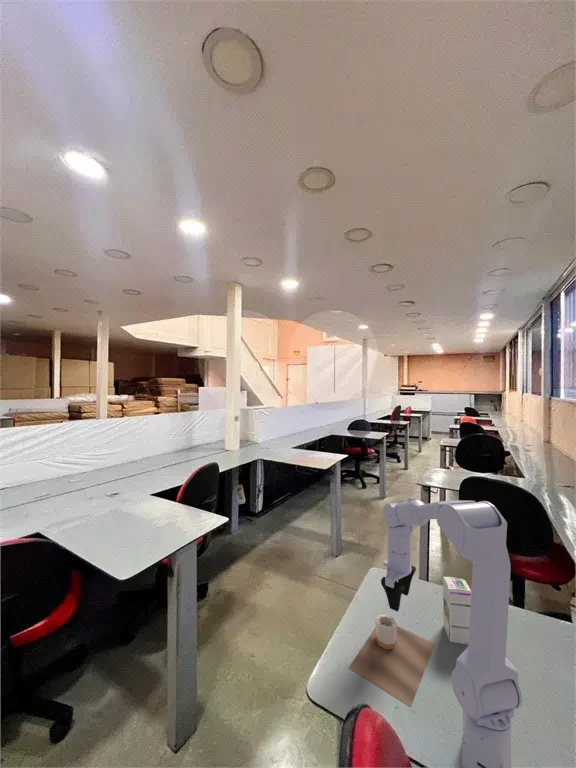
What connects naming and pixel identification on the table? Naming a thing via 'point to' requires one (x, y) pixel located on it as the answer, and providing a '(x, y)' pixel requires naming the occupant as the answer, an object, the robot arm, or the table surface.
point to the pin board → (394, 664)
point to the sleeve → (386, 632)
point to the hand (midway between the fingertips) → (399, 601)
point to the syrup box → (456, 609)
